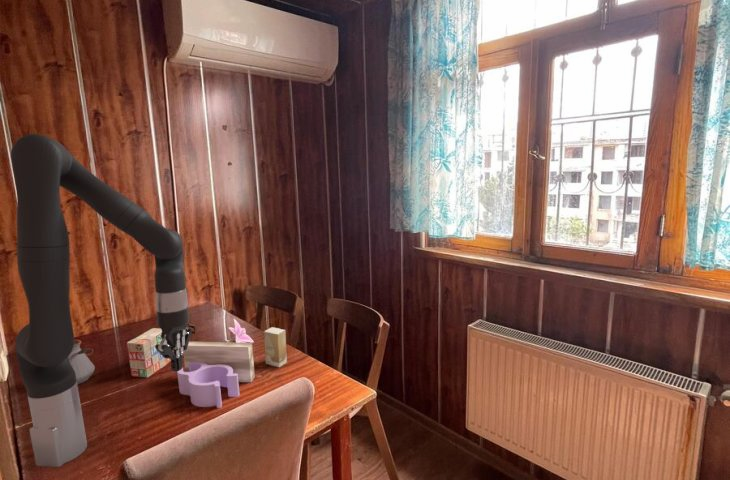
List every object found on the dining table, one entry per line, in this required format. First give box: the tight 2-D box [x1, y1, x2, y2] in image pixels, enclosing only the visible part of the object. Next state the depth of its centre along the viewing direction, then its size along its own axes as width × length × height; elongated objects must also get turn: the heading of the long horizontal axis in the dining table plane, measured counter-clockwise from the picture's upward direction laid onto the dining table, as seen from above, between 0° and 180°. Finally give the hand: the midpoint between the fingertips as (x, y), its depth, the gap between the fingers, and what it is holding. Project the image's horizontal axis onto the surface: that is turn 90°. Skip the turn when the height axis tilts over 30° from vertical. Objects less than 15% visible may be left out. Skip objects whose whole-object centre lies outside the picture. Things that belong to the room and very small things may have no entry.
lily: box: [228, 318, 255, 344], centre depth 154 cm, size 12×12×10 cm
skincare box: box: [263, 326, 288, 368], centre depth 139 cm, size 6×4×12 cm
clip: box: [176, 361, 240, 409], centre depth 122 cm, size 20×12×7 cm, turn 60°
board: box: [182, 340, 256, 383], centre depth 129 cm, size 3×22×12 cm, turn 84°
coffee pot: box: [68, 339, 96, 386], centre depth 128 cm, size 21×12×15 cm, turn 55°
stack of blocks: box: [126, 327, 171, 378], centre depth 142 cm, size 21×6×12 cm, turn 168°
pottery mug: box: [186, 320, 197, 333], centre depth 165 cm, size 12×10×8 cm
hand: (177, 369), depth 106 cm, fingers closed
